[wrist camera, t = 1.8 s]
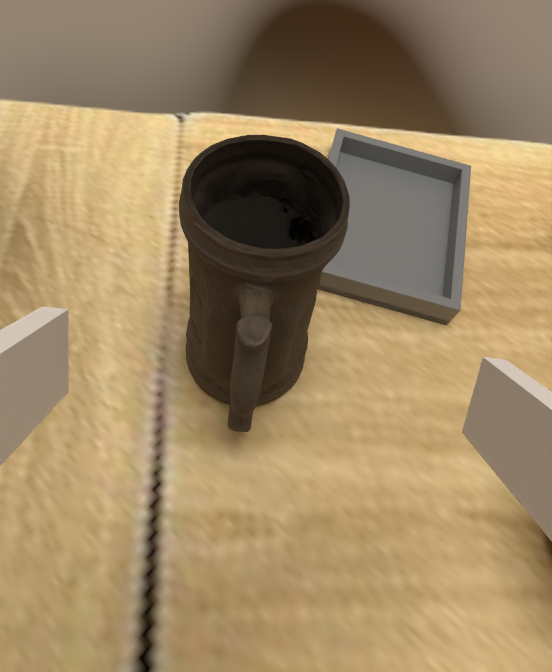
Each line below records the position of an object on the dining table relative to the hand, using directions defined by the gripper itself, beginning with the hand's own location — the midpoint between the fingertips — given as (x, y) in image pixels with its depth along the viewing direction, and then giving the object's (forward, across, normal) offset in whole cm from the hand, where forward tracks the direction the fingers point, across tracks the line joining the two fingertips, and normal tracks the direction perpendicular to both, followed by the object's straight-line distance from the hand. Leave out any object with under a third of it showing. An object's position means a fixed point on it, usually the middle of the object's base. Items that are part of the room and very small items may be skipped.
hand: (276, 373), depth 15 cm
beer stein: (+26, 0, -10) cm, 28 cm away
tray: (+39, +13, +3) cm, 41 cm away
